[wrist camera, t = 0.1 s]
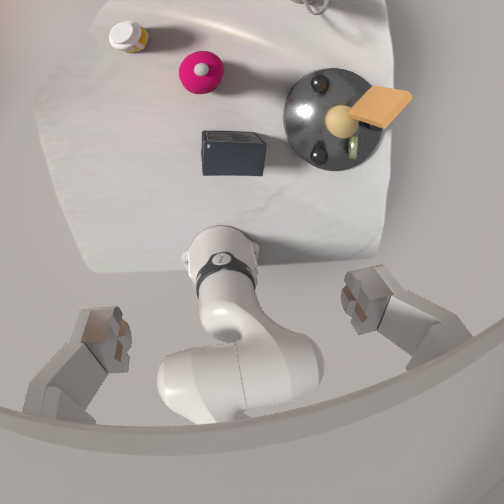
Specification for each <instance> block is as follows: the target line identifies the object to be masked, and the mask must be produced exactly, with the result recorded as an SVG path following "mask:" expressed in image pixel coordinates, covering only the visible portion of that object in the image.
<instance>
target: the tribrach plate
mask: <svg viewBox="0 0 504 504" xmlns="http://www.w3.org/2000/svg"><path fill="white" fill-rule="evenodd" d="M370 88H371V86H370V85H369V84H368V82H366V81H365V80H364V79H363V78H362V77H360V76H359V75H357V74H355V73H353V72H351V71H348V70H344V69H338V68H328V69H321V70H317V71H314V72H311V73H309V74H308V75H306V76H304V77H303V78H302V79H301V80H299V81H298V82H297V83H296V85H295V86H294V87H293V88H292V90H291V91H290V93H289V95H288V97H287V100H286V103H285V107H284V116H283V120H284V128H285V133H286V135H287V138H288V140H289V142H290V144H291V146H292V147H293V149H294V150H295V151H296V152H297V153H298V155H299V156H301V157H302V158H303V159H304V160H305V161H307V162H308V163H310V164H311V165H313V166H315V167H317V168H320V169H323V170H329V171H340V170H346V169H349V168H352V167H354V166H356V165H358V164H360V163H361V162H362V161H364V160H365V159H366V158H367V157H368V156H369V155H370V154H371V153H372V151H373V150H374V148H375V147H376V145H377V143H378V141H379V138H380V135H381V131H382V128H380V127H377V126H374V125H371V124H368V123H365V122H363V121H359V124H358V128H357V131H356V132H355V133H354V134H353V135H352V136H351V137H349V138H339V137H336V136H334V135H332V134H331V133H330V132H329V131H328V130H327V129H326V126H325V122H324V118H325V114H326V112H327V111H328V110H329V109H330V108H331V107H332V106H335V105H344V106H348V107H350V108H352V107H353V106H354V105H355V103H356V102H357V101H358V100H359V99H360V98H361V97H362V96H363V95H364V94H365V93H366V92H367V91H368V90H369V89H370Z"/></svg>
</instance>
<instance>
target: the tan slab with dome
mask: <svg viewBox="0 0 504 504" xmlns="http://www.w3.org/2000/svg"><path fill="white" fill-rule="evenodd" d="M412 98H413V97H412V95H411V94H410V92H408V91H403V90H398V89H391V88H385V87H377V86H372V87H371V88H370V89H369V90H368V91H367V92H366V93H365V94H364V95H363V96H362V97H361V98H360V99H359V100H358V101H357V102H356V103H355V105H354V106H353V107H352V108H350V107H348V106H344V105H335V106H332V107H331V108H330V109H329V110H328V111H327V112H326V114H325V118H324V122H325V126H326V129H327V130H328V131H329V132H330V133H331V134H332V135H334V136H336V137H339V138H349V137H351V136H352V135H353V134H354V133H355V132H356V131H357V128H358V124H359V121H363V122H365V123H368V124H371V125H374V126H377V127H380V128H383V129H386V128H387V127H388V125H389V124H390V123H391V122H392V121H393V120H394V119H395V118H396V117H397V115H398V114H399V113H400V112H401V111H402V110H403V109H404V108H405V106H406V105H407V104H408V103H409V102H410V101H411V100H412Z"/></svg>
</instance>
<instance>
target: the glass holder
mask: <svg viewBox="0 0 504 504" xmlns="http://www.w3.org/2000/svg"><path fill="white" fill-rule="evenodd" d="M291 1H293V2H296V3H300V4H305V6H306V8H307V10H308V12H309V13H311V14H313V15H320V14H322V13H324V12H325V11H326V9H327V7H328V3H329V0H324V5H323V7H322V9H321V10H320V11H319V12H316V13H314V12H313V11H312V10H311V8H310V7H309V3H313V2H315V1H316V0H291Z"/></svg>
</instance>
